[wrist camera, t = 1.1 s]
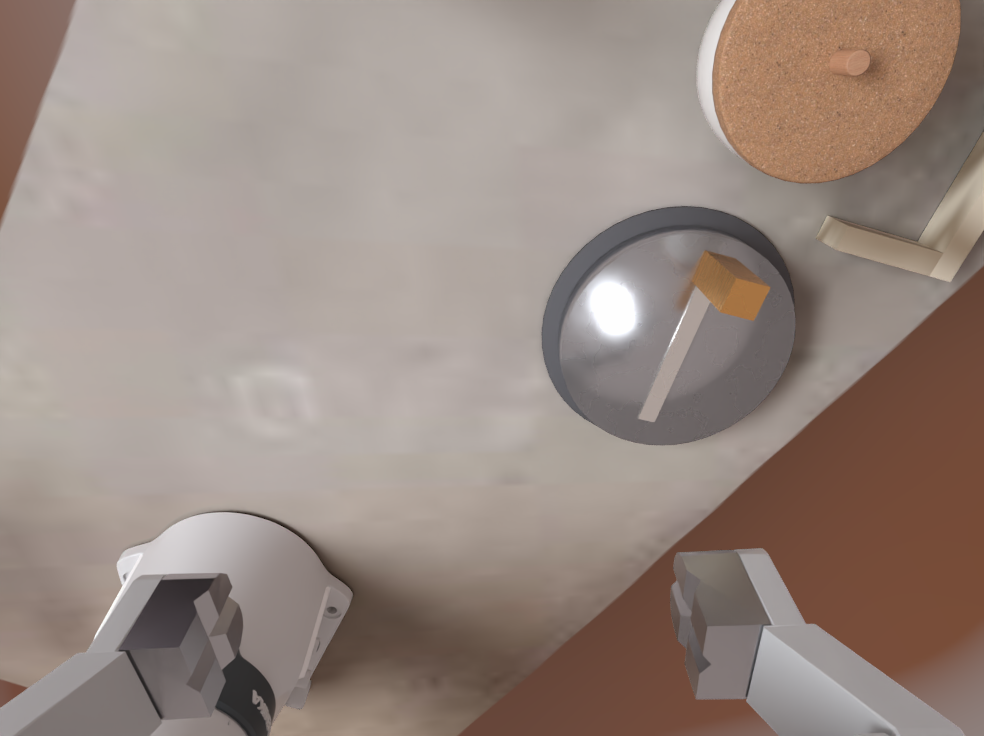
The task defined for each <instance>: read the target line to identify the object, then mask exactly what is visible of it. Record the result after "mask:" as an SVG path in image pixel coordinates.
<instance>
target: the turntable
mask: <svg viewBox="0 0 984 736" xmlns="http://www.w3.org/2000/svg"><path fill="white" fill-rule="evenodd" d="M795 324H796V320H795V311H794V305H793V301H792V298H791V294H790V292H789V290H788V287H787V285H786V283H785V281H784V280H783V278H782V277H781V275H780V274H779V272H778V271H777V269H776V268H775V267H774V266H773V265H772V264H771V263H770V262H769V261H768V260H767V259H766V258H765V257H763V256H762V255H761V254H759V253H758V252H757V251H755V250H754V249H753V248H751V247H750V246H749V245H747V244H746V243H744V242H743V241H741V240H740V239H738V238H736V237H734V236H732V235H730V234H728V233H725V232H722V231H719V230H716V229H712V228H707V227H702V226H689V225H682V226H669V227H664V228H658V229H653V230H650V231H647V232H644V233H641V234H638V235H636V236H634V237H632V238H630V239H627V240H625V241H623V242H622V243H620V244H618V245H617V246H615V247H613V248H612V249H610V250H609V251H608V252H606V253H605V254H604V255H602V256H601V257H600V258H599V259H597V260H596V261H595V262H594V263H593V264H592V265H591V266H590V267H589V268H588V269H587V270H586V272H585V273H584V274H583V275H582V277H581V278H580V279H579V281H578V282H577V283H576V285H575V287H574V288H573V290H572V292H571V293H570V295H569V297H568V299H567V302H566V304H565V306H564V309H563V312H562V316H561V319H560V323H559V330H558V354H559V360H560V365H561V368H562V372H563V376H564V379H565V382H566V385H567V389H568V391H569V393H570V395H571V397H572V399H573V400H574V402H575V403H576V405H577V406H578V408H579V409H580V410H581V411H582V412H583V414H584V415H585V416H586V417H587V418H588V419H589V420H590V421H592V422H593V423H594V424H596V425H597V426H598V427H599V428H601V429H603V430H605V431H606V432H608V433H610V434H612V435H614V436H616V437H619V438H621V439H624V440H628V441H631V442H635V443H641V444H647V445H675V444H682V443H687V442H692V441H696V440H699V439H703V438H706V437H708V436H711V435H713V434H716V433H718V432H720V431H722V430H724V429H726V428H728V427H730V426H732V425H733V424H735V423H736V422H738V421H739V420H741V419H742V418H744V417H745V416H746V415H748V414H749V413H750V412H751V411H753V410H754V409H755V408H756V407H757V406H758V405H759V404H760V403H761V402H762V401H763V400H764V399H765V398H766V397H767V395H768V394H769V393H770V392H771V390H772V389H773V388H774V387H775V385H776V383H777V382H778V380H779V379H780V377H781V376H782V374H783V372H784V369H785V367H786V365H787V363H788V361H789V358H790V355H791V352H792V348H793V343H794V338H795Z"/></svg>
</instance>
